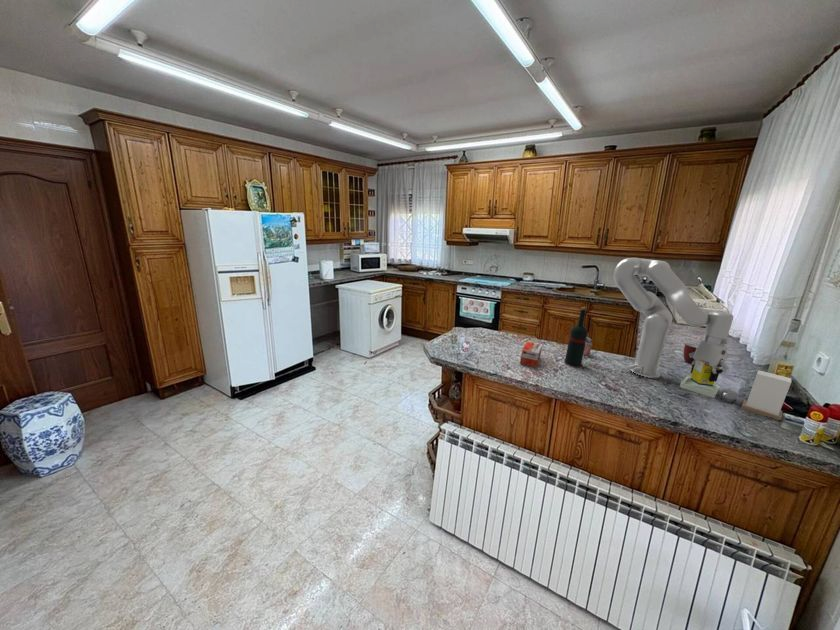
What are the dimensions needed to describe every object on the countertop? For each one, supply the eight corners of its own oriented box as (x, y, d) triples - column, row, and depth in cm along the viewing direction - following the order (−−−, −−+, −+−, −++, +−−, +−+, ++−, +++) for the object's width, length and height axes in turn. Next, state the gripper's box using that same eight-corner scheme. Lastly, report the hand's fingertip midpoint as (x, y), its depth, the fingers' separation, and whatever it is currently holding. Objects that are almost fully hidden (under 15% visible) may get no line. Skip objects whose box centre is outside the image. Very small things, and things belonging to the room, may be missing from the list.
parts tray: (714, 398, 138) (715, 393, 137) (679, 387, 146) (680, 383, 146) (718, 390, 145) (719, 386, 145) (685, 380, 154) (686, 376, 154)
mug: (706, 368, 171) (712, 350, 168) (690, 366, 172) (695, 349, 169) (691, 360, 181) (696, 343, 179) (677, 359, 182) (681, 342, 179)
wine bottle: (579, 360, 171) (590, 305, 163) (582, 367, 162) (594, 310, 154) (563, 358, 173) (573, 303, 165) (565, 365, 164) (576, 308, 156)
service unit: (780, 421, 122) (795, 384, 118) (740, 408, 130) (753, 373, 126) (781, 414, 128) (795, 378, 124) (743, 402, 136) (755, 368, 131)
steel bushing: (729, 404, 133) (732, 395, 132) (716, 398, 138) (719, 389, 137) (738, 403, 134) (741, 395, 133) (725, 397, 139) (728, 389, 138)
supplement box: (713, 386, 142) (720, 363, 139) (698, 384, 143) (704, 362, 140) (704, 380, 147) (711, 358, 145) (689, 379, 148) (696, 357, 146)
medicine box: (536, 368, 159) (538, 352, 156) (519, 364, 162) (521, 349, 160) (540, 358, 172) (542, 344, 170) (524, 354, 175) (526, 340, 173)
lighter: (577, 351, 184) (580, 335, 182) (582, 351, 185) (586, 335, 182) (585, 357, 177) (589, 339, 174) (591, 357, 177) (594, 340, 174)
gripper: (743, 347, 132) (730, 385, 137) (701, 333, 149) (690, 368, 153) (728, 347, 131) (716, 386, 135) (687, 333, 147) (677, 369, 152)
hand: (702, 376), depth 144 cm, fingers closed on supplement box, 7 cm apart
